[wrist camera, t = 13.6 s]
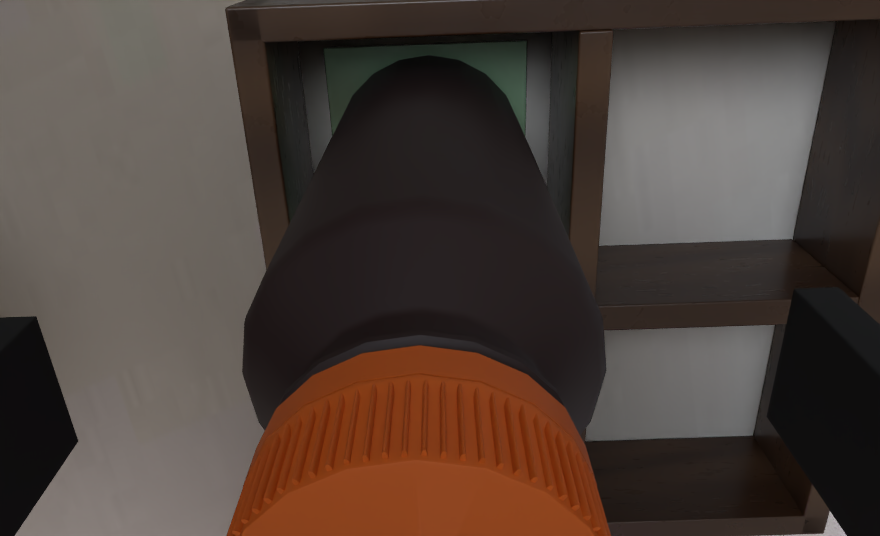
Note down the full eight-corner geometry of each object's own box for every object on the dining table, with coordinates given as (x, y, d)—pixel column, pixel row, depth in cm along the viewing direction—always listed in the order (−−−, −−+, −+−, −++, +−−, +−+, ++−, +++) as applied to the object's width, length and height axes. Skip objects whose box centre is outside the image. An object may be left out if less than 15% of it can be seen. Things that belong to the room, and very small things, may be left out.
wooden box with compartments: (262, -8, 24) (224, 7, 20) (875, -31, 24) (977, -21, 20) (327, 466, 33) (310, 550, 29) (771, 451, 33) (824, 534, 29)
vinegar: (311, 87, 25) (10, 476, 7) (491, 26, 25) (647, 299, 7) (376, 250, 28) (273, 817, 10) (539, 200, 27) (742, 726, 9)
